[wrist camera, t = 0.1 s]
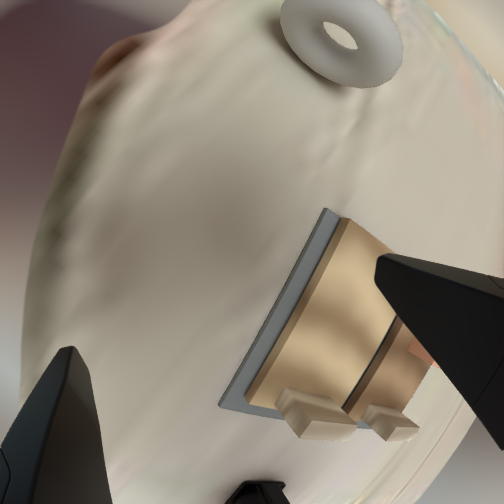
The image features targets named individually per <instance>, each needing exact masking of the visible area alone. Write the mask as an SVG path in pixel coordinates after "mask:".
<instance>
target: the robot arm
mask: <svg viewBox="0 0 504 504" xmlns="http://www.w3.org/2000/svg"><path fill="white" fill-rule="evenodd" d="M374 282H375V285H376V286H377V288H378V289H379V290H380V292H381V293H382V295H383V296H384V297H385V299H386V300H387V302H388V303H389V304H390V306H391V307H392V309H393V310H394V311H395V313H396V314H397V316H398V317H399V318H400V320H401V321H402V322H403V323H404V325H405V326H406V327H407V328H408V329H409V330H410V332H411V333H412V334H413V335H414V336H415V338H416V339H417V340H418V341H419V342H420V344H421V345H422V346H423V347H424V348H425V350H426V351H427V352H428V353H429V355H430V356H431V357H432V358H433V359H434V361H435V362H436V363H437V364H438V366H439V367H440V368H441V369H442V371H443V372H444V373H445V375H446V376H447V377H448V378H449V380H450V381H451V382H452V383H453V385H454V386H455V387H456V389H457V390H458V391H459V393H460V394H461V395H462V396H463V398H464V399H465V400H466V402H467V403H468V404H469V406H470V407H471V408H472V410H473V412H474V413H475V414H476V416H477V417H478V418H479V420H480V421H481V422H482V424H483V425H484V427H485V428H486V430H487V431H488V432H489V434H490V435H491V437H492V438H493V439H494V441H495V442H496V444H497V445H498V447H499V448H500V449H501V450H502V451H503V450H504V279H503V278H498V277H494V276H490V275H485V274H481V273H477V272H473V271H469V270H465V269H460V268H456V267H452V266H447V265H443V264H439V263H434V262H430V261H425V260H421V259H416V258H412V257H407V256H403V255H398V254H393V253H386V254H383V255H380V256H379V257H378V258H377V261H376V268H375V274H374ZM285 486H286V485H285V483H284V482H244V483H243V484H242V485H241V486H240V487H239V489H238V490H237V491H236V492H235V493H234V495H233V496H232V497H231V498H230V499H229V500H228V502H227V503H226V504H290V503H289V501H288V500H287V498H286V496H285V495H284V493H283V492H282V490H283V488H284V487H285ZM0 504H113V503H112V498H111V494H110V489H109V484H108V478H107V473H106V467H105V460H104V454H103V447H102V439H101V431H100V425H99V420H98V415H97V410H96V405H95V400H94V395H93V390H92V384H91V378H90V373H89V370H88V368H87V366H86V364H85V362H84V361H83V359H82V357H81V355H80V354H79V352H78V350H77V349H76V347H75V346H68V347H64V348H61V349H59V351H58V352H57V353H56V355H55V356H54V358H53V359H52V361H51V362H50V364H49V365H48V367H47V368H46V370H45V372H44V373H43V375H42V376H41V378H40V379H39V381H38V382H37V384H36V386H35V387H34V389H33V390H32V392H31V394H30V395H29V397H28V398H27V400H26V402H25V403H24V405H23V407H22V408H21V410H20V412H19V414H18V415H17V417H16V419H15V421H14V422H13V424H12V426H11V428H10V429H9V431H8V433H7V435H6V437H5V438H4V440H3V442H2V444H1V448H0Z"/></svg>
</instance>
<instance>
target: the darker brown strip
mask: <svg viewBox="0 0 504 504" xmlns="http://www.w3.org/2000/svg"><path fill="white" fill-rule="evenodd" d="M414 338H415V336H414V335H413V334H412V333H411V332H410V330H409V329H408V328H407V327H406V326H405V325H404V323H403V322H402V321H401V320H400V318H399V317H398V316H397V318H396V320H395V322H394V324H393V326H392V328H391V330H390V332H389V333H388V335H387V337H386V339H385V341H384V343H383V344H382V346H381V348H380V350H379V351H378V353H377V355H376V357H375V358H374V360H373V362H372V363H371V365H370V367H369V368H368V370H367V372H366V373H365V375H364V377H363V378H362V380H361V381H360V383H359V385H358V386H357V388H356V389H355V391H354V392H353V394H352V395H351V397H350V398H349V400H348V401H347V403H346V404H345V406H344V407H343V409H342V410H343V411H344V412H345V413H346V414H347V415H348V416H349V417H350V418H351V419H352V420H354V421H362V422H365V423H366V424H367V425H368V426H369V427H371V428H372V429H373V430H374V431H375V432H376V433H377V434H378V435H379V436H380V437H381V438H383V439H384V440H385V441H409V440H411V439H412V438H413V437H414V435H415V434H416V432H417V431H418V430H419V428H420V427H419V426H417V425H416V424H415V423H414V422H412V421H411V420H410V419H408V418H407V417H406V416H405V415H403V414H402V411H403V410H404V408H405V407H406V405H407V404H408V402H409V401H410V399H411V397H412V396H413V394H414V393H415V391H416V390H417V388H418V386H419V385H420V383H421V381H422V380H423V378H424V376H425V375H426V373H427V371H428V369H429V368H430V366H431V364H429V363H427V362H425V361H424V360H422V359H420V358H419V357H417V356H415V355H414V354H412V353H410V352H409V351H407V350H408V349H409V347H410V345H411V343H412V341H413V339H414Z"/></svg>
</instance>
